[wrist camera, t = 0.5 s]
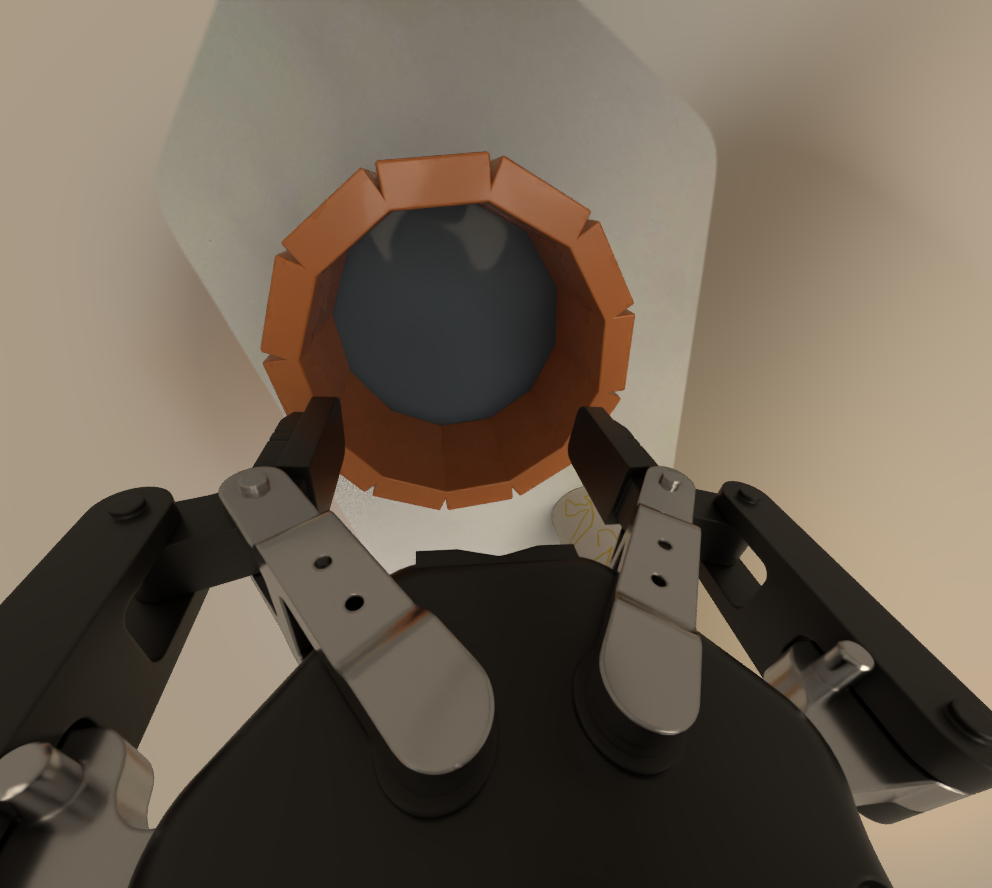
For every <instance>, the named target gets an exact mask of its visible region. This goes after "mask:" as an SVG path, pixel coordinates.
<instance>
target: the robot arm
mask: <svg viewBox="0 0 992 888" xmlns="http://www.w3.org/2000/svg"><path fill="white" fill-rule="evenodd" d="M344 456H345V435H344V427H343V419H342V411H341V403H340V399H339V398H338V397H318V396H313V397H311V399H310V401H309V403H308V405H307V407H306V409H305V411H304V412H292V413H291V414H289V415H288V416H286V417H285V418H283V419H282V420H281V421H280V422H279V424H278V426H277V427H276V429H275V433H273V434H272V436H271V437H270V441H268V442H267V444H266V446H265V447H264V449H263V451H262V453H261V454H260V456H259V457H258V459H257V461H256V462H255V464H254V466H253V467H252V468H250V469H246V470H243V471H240V472H238V473H236V474H234V475H232V476H231V477H229V478H228V479H226V480H225V481H224V482H223V483H222V485H221V486H220V488H219V491H218V493H216V494H212V495H208V496H203V497H198V498H193V499H188V500H183V501H178V502H175V501H174V498H173V496H172V495H171V493H170V492H169V491H167V490H166V489H163V488H159V487H140V488H134V489H129V490H125V491H122V492H119V493H116V494H114V495H111V496H109V497H107V498H105V499H103V500H101V501H100V502H98V503H97V504H95V505H94V506H92V507H91V508H90V509H89V510H88V511H87V512H86V513H85V514H84V515H83V516H82V517H81V518H80V519H79V520H78V521H77V523H76V524H75V525H74V526H73V527H72V528H71V529H70V530H69V531H68V532H67V533H66V535H65V536H64V537H63V538H62V539H61V540H60V541H59V542H58V543H57V544H56V545H55V546H54V547H53V548H52V550H51V551H50V552H49V553H48V554H47V555H46V556H45V557H44V558H43V560H41V562H40V563H39V564H38V565H37V566H36V567H35V568H34V569H33V570H32V571H31V572H30V573H29V574H28V576H27V577H26V578H25V579H24V580H23V581H22V582H21V583H20V584H19V585H18V586H17V587H16V588H15V590H14V591H13V592H12V593H11V594H10V595H9V596H8V597H7V598H6V599H5V600H4V601H3V603H2V604H1V605H0V888H893V886H892V884H891V882H890V881H889V879H888V877H887V875H886V873H885V871H884V869H883V867H882V865H881V863H880V861H879V859H878V857H877V855H876V853H875V851H874V849H873V846H872V844H871V842H870V840H869V838H868V835H867V833H866V831H865V828H864V826H863V823H862V821H861V818H860V816H859V813H860V814H862V815H864V816H865V817H867V818H869V819H871V820H873V821H875V822H878V823H881V824H892V823H895V822H898V821H901V820H904V819H906V818H909V817H912V816H915V815H918V814H920V813H923V812H925V811H929V810H932V809H934V808H937V807H940V806H943V805H946V804H948V803H951V802H954V801H957V800H960V799H962V798H965V797H968V796H971V795H974V794H976V793H979V792H982V791H985V790H988V789H990V788H992V711H991V710H990V709H989V708H988V707H987V706H986V705H985V704H984V703H983V702H982V701H981V700H980V699H979V698H978V697H976V695H975V694H973V693H972V692H971V691H970V690H969V689H968V688H967V687H966V686H965V685H964V684H963V683H962V682H961V681H960V680H959V679H958V678H957V677H956V676H955V675H954V674H953V673H952V672H951V671H950V670H948V669H947V668H946V667H945V666H944V665H943V664H942V663H941V662H940V661H939V660H938V659H937V658H936V657H935V656H934V655H933V654H932V653H931V652H929V650H928V649H927V648H926V647H924V645H922V644H921V643H920V642H919V641H918V640H917V639H916V638H915V637H914V636H913V635H912V634H911V633H910V632H909V631H908V630H907V629H906V628H905V627H904V626H903V625H901V623H900V622H898V621H897V620H896V619H895V618H894V617H893V616H892V615H891V614H890V613H889V612H888V611H887V610H886V609H885V608H884V607H883V606H882V605H881V604H880V603H879V602H878V601H876V599H875V598H874V597H872V596H871V595H870V594H869V593H868V592H867V591H866V590H865V589H864V588H863V587H862V586H861V585H860V584H859V583H858V582H857V581H856V580H855V579H854V578H853V577H852V576H851V575H849V573H847V572H846V571H845V570H844V569H843V568H842V567H841V566H840V565H839V564H838V563H837V562H836V561H835V560H834V559H833V558H832V557H831V556H830V555H829V554H828V553H827V552H826V551H824V550H823V549H822V548H821V547H820V546H819V545H818V544H817V543H816V542H815V541H814V540H813V539H812V538H811V537H810V536H809V535H808V534H807V533H806V532H805V531H804V530H803V529H802V528H801V527H800V526H798V525H797V524H796V523H795V522H794V521H793V520H792V519H791V518H790V517H789V516H788V515H787V514H786V513H785V512H784V511H783V510H782V509H781V508H780V507H779V506H778V505H776V504H775V502H774V501H772V500H771V499H770V498H769V497H768V496H767V495H766V494H765V493H763V492H762V491H760V490H758V489H757V488H755V487H753V486H750V485H748V484H745V483H741V482H736V481H728V482H725V483H724V484H723V485H722V487H721V489H720V490H719V492H718V493H713V492H708V491H703V490H698V489H695V485H694V484H693V482H692V481H691V480H690V479H689V478H688V477H687V476H685V475H684V474H683V473H681V472H679V471H677V470H675V469H672V468H669V467H664V466H658V465H657V463H656V462H655V461H654V460H653V459H652V457H651V456H650V455H649V454H648V453H647V452H646V450H645V449H644V448H643V447H642V446H640V443H639V442H638V441H637V440H636V439H634V436H633V435H632V434H631V433H630V432H629V430H628V429H627V428H625V427H624V426H622V425H621V424H619V423H618V422H616V421H614V420H613V419H612V418H611V417H610V415H609V414H608V413H607V412H606V410H605V409H604V408H603V407H591V406H581V407H580V408H579V409H578V411H577V414H576V418H575V421H574V425H573V428H572V432H571V436H570V439H569V443H568V456H569V459H570V461H571V463H572V465H573V467H574V469H575V471H576V472H577V474H578V476H579V478H580V480H581V482H582V484H583V485H584V487H585V489H586V491H587V493H588V495H589V496H590V498H591V500H592V502H593V504H594V506H595V508H596V509H597V511H598V513H599V515H600V517H601V519H602V520H603V522H604V524H605V525H616V524H620V525H621V527H622V528H621V530H620V532H619V534H618V537H617V540H616V543H615V546H614V549H613V552H612V555H611V558H610V561H609V564H608V566H606V565H604V564H602V563H600V562H597V561H595V560H592V559H588V558H585V557H580V556H578V553H577V551H576V549H575V546H574V544H560V545H540V546H534V547H531V548H527V549H524V550H520V551H517V552H514V553H510V554H507V555H503V556H495V555H489V554H482V553H476V552H470V551H464V550H458V549H456V550H435V551H416V564H415V565H411V566H408V567H405V568H403V569H400V570H398V571H396V572H394V573H392V574H390V575H389V574H388V573H387V572H386V571H385V569H384V568H383V567H382V566H381V565H380V564H379V563H378V562H377V560H376V559H375V558H374V557H373V556H372V555H371V554H370V553H369V551H368V550H367V549H366V548H365V547H364V546H363V545H362V544H361V543H360V541H359V540H358V539H357V538H356V537H355V536H354V535H353V534H352V533H351V531H350V530H349V529H348V528H347V527H346V526H345V525H344V524H343V522H342V521H341V520H340V519H339V518H338V517H337V516H336V515H335V514H334V513H333V512H332V511H330V506H331V503H332V499H333V496H334V492H335V489H336V485H337V482H338V478H339V474H340V471H341V467H342V464H343V460H344ZM748 546H750V548H751V549H752V550H753V551H754V552H755V553H756V555H757V556H758V557H759V558H760V559H761V561H762V562H763V563H764V565H765V567H766V571H767V579H766V581H765V582H764V584H763V585H762V586H761V585H760V584H759V583H758V581H757V580H756V579H755V578H754V576H753V575H752V574H751V573H750V571H749V570H748V569H747V567H746V566H745V565H744V564H743V562H742V561H741V560H740V559H739V558H740V556H741V555H742V554H743V552H744V551H745V550H746V548H747V547H748ZM247 576H250V577H251V579H252V581H253V582H254V584H255V586H256V587H257V589H258V591H259V592H260V594H261V596H262V597H263V599H264V601H265V603H266V604H267V606H268V608H269V610H270V611H271V613H272V615H273V616H274V618H275V620H276V622H277V623H278V625H279V627H280V628H281V631H282V632H283V635H284V637H285V639H286V641H287V643H288V645H289V647H290V649H291V651H292V653H293V655H294V657H295V659H296V661H297V662H298V664H299V666H298V667H297V668H296V669H295V670H294V671H293V672H292V673H291V674H290V676H288V677H287V679H286V680H285V681H284V682H283V683H282V684H281V685H280V686H279V687H278V688H277V689H276V690H275V691H274V693H273V694H272V695H271V696H270V697H269V698H268V699H267V700H266V701H265V702H264V703H263V704H262V705H261V706H260V707H259V708H258V710H257V711H256V712H255V713H254V714H253V715H252V716H251V717H250V718H249V719H248V721H246V722H245V723H244V725H243V726H242V727H241V728H240V729H239V730H238V731H237V732H236V733H235V734H234V735H233V736H232V737H231V739H230V740H229V741H228V742H227V743H226V744H225V745H224V746H223V747H222V748H221V749H220V750H219V752H217V753H216V755H215V756H214V757H213V758H212V759H211V760H210V761H209V762H208V763H207V764H206V765H205V766H204V767H203V769H202V770H201V771H200V772H199V773H198V774H197V775H196V776H195V777H194V778H193V779H192V780H191V781H190V783H189V784H188V785H187V786H186V787H185V788H184V789H183V791H182V792H181V793H180V794H179V796H178V797H177V798H176V799H175V801H174V802H173V803H172V805H171V806H170V808H169V809H168V810H167V812H166V813H165V815H164V816H163V818H162V819H161V821H160V823H159V824H158V826H157V827H156V828H155V829H149V827H148V821H147V813H148V805H149V801H150V797H151V793H152V790H153V785H154V772H153V768H152V766H151V763H150V762H149V761H148V760H147V759H146V758H145V757H144V756H143V755H142V754H141V753H139V752H138V750H137V748H138V746H139V744H140V742H141V740H142V737H143V735H144V733H145V731H146V728H147V726H148V724H149V722H150V720H151V717H152V715H153V713H154V711H155V708H156V706H157V704H158V702H159V699H160V697H161V695H162V693H163V691H164V688H165V686H166V684H167V682H168V679H169V677H170V675H171V673H172V671H173V668H174V666H175V664H176V662H177V659H178V657H179V655H180V653H181V651H182V648H183V646H184V644H185V642H186V639H187V637H188V635H189V633H190V630H191V628H192V626H193V624H194V622H195V619H196V617H197V615H198V613H199V611H200V608H201V606H202V604H203V602H204V599H205V597H206V595H207V593H208V590H209V588H210V587H214V586H217V585H220V584H224V583H227V582H231V581H234V580H237V579H241V578H244V577H247ZM698 579H700V581H701V583H702V584H703V586H704V587H705V589H706V590H707V592H708V594H709V595H710V597H711V598H712V600H713V601H714V603H715V604H716V606H717V608H718V609H719V611H720V612H721V614H722V615H723V617H724V618H725V620H726V622H727V623H728V624H729V626H730V628H731V629H732V631H733V632H734V634H735V635H736V637H737V638H738V640H739V642H740V643H741V645H742V646H743V648H744V649H745V651H746V653H747V654H748V656H749V657H750V659H751V660H752V662H753V664H754V665H755V667H756V668H757V670H758V671H759V673H760V674H761V676H762V678H763V679H764V680H763V679H762V678H761V677H759V676H758V675H757V674H755V673H754V672H753V671H751V670H750V669H749V668H747V667H746V666H744V665H743V664H742V663H740V662H739V661H738V660H736V659H735V658H733V657H732V656H731V655H729V654H728V653H727V652H725V651H724V650H723V649H721V648H720V647H719V646H717V645H716V644H715V643H713V642H712V641H710V640H709V639H708V638H706V637H705V636H704V635H702V634H701V633H700V632H698V631H697V630H696V616H697V615H696V614H697V596H698ZM858 812H859V813H858Z"/></svg>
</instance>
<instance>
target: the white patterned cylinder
mask: <svg viewBox="0 0 992 888" xmlns="http://www.w3.org/2000/svg"><path fill="white" fill-rule="evenodd" d="M552 521H553V524H554V526H555V529H556V531H557V534H558V536H559V539H560V541H561V544H574V546H575V549H576V551H577V553H578V556H580V557H585V558H588V559H592V560H595V561H597V562H600V563H602V564H604V565H606V566H608V564H609V561H610V558H611V555H612V552H613V549H614V546H615V543H616V540H617V537H618V534H619V532H620V530H621V528H622V527H621V525H620V524H616V525H605V524H604V522H603V520H602V519H601V517H600V515H599V513H598V511H597V509H596V508H595V506H594V504H593V502H592V500H591V498H590V496H589V495H588V493H587V491H586V489H585V487H581V488H578V489H575V490H573V491H571V492H569V493H568V494H566V495H565V496H563V497H562V498H561V499H560V500H559V501H558V503H557V504H556V505H555V507H554V509H553V512H552Z"/></svg>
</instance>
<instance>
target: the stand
mask: <svg viewBox="0 0 992 888" xmlns="http://www.w3.org/2000/svg"><path fill="white" fill-rule="evenodd" d="M556 308H557V287H556V285H555V283H554V281H553V279H552V278H551V276H550V274H549V272H548V270H547V268H546V267H545V265H544V263H543V261H542V259H541V257H540V256H539V254H538V252H537V250H536V248H535V246H534V244H533V243H532V241H531V239H530V237H529V235H528V233H527V232H526V231H524V230H522V229H520V228H518V227H517V226H515V225H513V224H511V223H510V222H508V221H506V220H504V219H503V218H501V217H499V216H497V215H495V214H494V213H492V212H490V211H488V210H487V209H485V208H483V207H481V206H479V205H478V204H476V203H475V204H465V205H454V206H444V207H434V208H423V209H413V210H403V211H392V212H391V213H390V214H389V215H388V216H387V217H385V218H384V219H383V220H382V221H381V222H380V223H379V224H378V225H376V226H375V227H374V228H373V229H372V230H371V231H370V232H369V233H367V234H366V235H365V236H364V237H363V238H362V239H361V240H360V241H358V242H357V243H356V244H355V245H354V246H353V247H352V248H351V249H349V250H348V251H347V256H346V260H345V264H344V268H343V272H342V276H341V280H340V285H339V289H338V293H337V297H336V301H335V305H334V310H333V314H332V315H333V318H334V322H335V325H336V328H337V331H338V334H339V337H340V340H341V343H342V346H343V349H344V352H345V355H346V359H347V362H348V365H349V368H350V371H351V373H352V374H353V375H355V376H356V377H357V378H358V379H359V380H360V381H361V382H362V383H363V384H364V385H365V386H366V387H367V388H368V389H369V390H370V391H371V392H372V393H373V394H374V395H376V396H377V397H378V398H379V399H380V400H381V401H382V402H383V403H384V404H385V405H386V406H387V407H388V408H389V409H390V410H392V411H395V412H398V413H401V414H405V415H408V416H411V417H414V418H418V419H421V420H424V421H427V422H431V423H434V424H437V425H441V426H442V425H449V424H455V423H462V422H468V421H475V420H481V419H488V418H491V417H492V416H494V415H495V414H497V413H498V412H500V411H501V410H502V409H504V408H505V407H507V406H508V405H510V404H511V403H513V402H514V401H515V400H517V399H518V398H520V397H521V396H523V395H524V394H526V393H527V392H529V391H530V390H531V389H532V387H533V385H534V383H535V381H536V379H537V378H538V376H539V374H540V372H541V370H542V369H543V367H544V365H545V363H546V361H547V359H548V358H549V356H550V354H551V352H552V350H553V349H554V347H555V345H556Z"/></svg>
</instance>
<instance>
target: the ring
mask: <svg viewBox="0 0 992 888" xmlns="http://www.w3.org/2000/svg"><path fill="white" fill-rule="evenodd" d="M375 166H376V171H377V173H374V172H372V171H369V170H367V169H365V168H362V167H361V168H359V169H358V170H357V171H356V172H355V173H354V174H353V175H352V176H351V177H350V178H349V179H348V180H347V181H346V182H344V183H343V184H342V185H341V186H340V187H339V188H338V189H337V190H336V191H335V192H334V193H333V194H332V195H331V196H330V197H329V198H328V199H326V200H325V201H324V202H323V203H322V204H321V205H320V206H319V207H318V208H317V209H316V210H315V211H314V212H313V213H312V214H311V215H310V216H308V217H307V218H306V219H305V220H304V221H303V222H302V223H301V224H300V225H299V226H298V227H297V228H296V229H295V230H294V231H293V232H292V233H290V234H289V235H288V236H287V237H286V238H285V239H284V240H283V241H282V245H283V246H284V247H285V248H286V249H287V251H285V252H282V253H280V254H278V255H276V256H275V259H274V265H273V272H272V278H271V285H270V291H269V298H268V304H267V311H266V317H265V324H264V330H263V336H262V343H261V351H262V352H264V353H267V354H270V355H269V356H268V358H267V359H266V360H265V361H264V362H263V365H264V368H265V370H266V372H267V374H268V376H269V378H270V380H271V383H272V385H273V387H274V389H275V391H276V393H277V395H278V398H279V400H280V402H281V404H282V406H283V408H284V410H285V413H286V415H287V416H288V415H289V414H291V413H292V412H304V411H305V409H306V407H307V405H308V403H309V401H310V399H311V397H313V396H318V397H338V398H339V399H340V403H341V411H342V419H343V427H344V435H345V456H344V460H343V464H342V467H341V471H340V474H341V475H342V476H344V477H345V478H346V479H348V480H349V481H350V482H352V483H353V484H354V485H356V486H357V487H358V488H360V489H361V490H363V491H364V492H365V491H367V490H368V489H370V488H371V487H372V486H374V490H373V496H377V497H381V498H386V499H390V500H395V501H400V502H404V503H409V504H413V505H418V506H423V507H427V508H432V509H437V510H440V509H441V507H442V505H443V503H444V501H445V499H446V503H447V508H448V510H451V509H457V508H463V507H468V506H474V505H480V504H486V503H491V502H497V501H503V500H508V499H512V497H513V495H512V488H513V489H514V490H515V491H516V492H517V493H518V494H519V495H522V494H524V493H526V492H527V491H529V490H530V489H532V488H534V487H535V486H537V485H538V484H540V483H542V482H543V481H545V480H546V479H548V478H550V477H551V476H553V475H554V474H556V473H558V472H559V471H561V470H562V469H564V468H566V467H567V466H569V465H570V464H572V463H571V461H570V459H569V456H568V443H569V439H570V436H571V432H572V428H573V425H574V421H575V418H576V414H577V411H578V409H579V408H580V407H581V406H591V407H603V408H604V409H605V410H606V412H607V413H608V414H609V415H610V414H611V412H612V411H613V410H614V408H615V407H616V405H617V404H618V402H619V401H620V397H619V396H618V395H617V394H616V393H615V391H621V390H624V389H625V383H626V376H627V369H628V362H629V354H630V347H631V340H632V333H633V326H634V318H635V314H634V313H632V312H630V311H629V310H627V308H628V307H630V306H631V305H633V304H634V302H633V299H632V297H631V295H630V292H629V290H628V288H627V285H626V283H625V281H624V278H623V276H622V273H621V271H620V269H619V266H618V264H617V262H616V259H615V257H614V254H613V252H612V250H611V247H610V245H609V243H608V240H607V238H606V235H605V233H604V231H603V228H602V226H601V224H600V222H599V221H595V220H589V219H588V217H589V215H590V213H591V211H590V210H589V209H587V208H586V207H584V206H583V205H581V204H580V203H578V202H576V201H575V200H573V199H572V198H570V197H569V196H567V195H565V194H564V193H562V192H561V191H559V190H558V189H556V188H554V187H553V186H551V185H550V184H548V183H547V182H545V181H543V180H542V179H540V178H539V177H537V176H536V175H534V174H532V173H531V172H529V171H528V170H526V169H525V168H523V167H521V166H520V165H518V164H517V163H515V162H514V161H512V160H510V159H509V158H507V157H506V156H501V157H499V158H496V159H494V160H492V161H490V155H489V152H487V151H485V152H472V153H460V154H448V155H436V156H424V157H412V158H400V159H388V160H377V161H376V162H375ZM475 203H476V204H478V205H479V206H481V207H483V208H485V209H487V210H488V211H490V212H492V213H494V214H495V215H497V216H499V217H501V218H503V219H504V220H506V221H508V222H510V223H511V224H513V225H515V226H517V227H518V228H520V229H522V230H524V231H526V232H527V233H528V235H529V237H530V239H531V241H532V243H533V244H534V246H535V248H536V250H537V252H538V254H539V256H540V257H541V259H542V261H543V263H544V265H545V267H546V268H547V270H548V272H549V274H550V276H551V278H552V279H553V281H554V283H555V285H556V287H557V308H556V345H555V347H554V349H553V350H552V352H551V354H550V356H549V358H548V359H547V361H546V363H545V365H544V367H543V369H542V370H541V372H540V374H539V376H538V378H537V379H536V381H535V383H534V385H533V387H532V389H531V390H530V391H529V392H527V393H526V394H524V395H523V396H521V397H520V398H518V399H517V400H515V401H514V402H513V403H511V404H510V405H508V406H507V407H505V408H504V409H502V410H501V411H500V412H498V413H497V414H495V415H494V416H492V417H491V418H488V419H481V420H475V421H468V422H462V423H455V424H449V425H442V426H441V425H437V424H434V423H431V422H427V421H424V420H421V419H418V418H414V417H411V416H408V415H405V414H401V413H398V412H395V411H392V410H390V409H389V408H388V407H387V406H386V405H385V404H384V403H383V402H382V401H381V400H380V399H379V398H378V397H377V396H376V395H374V394H373V393H372V392H371V391H370V390H369V389H368V388H367V387H366V386H365V385H364V384H363V383H362V382H361V381H360V380H359V379H358V378H357V377H356V376H355V375H353V374H352V373H351V371H350V368H349V365H348V362H347V359H346V355H345V352H344V349H343V346H342V343H341V340H340V337H339V334H338V331H337V328H336V325H335V322H334V318H333V315H332V314H333V310H334V305H335V301H336V297H337V293H338V289H339V285H340V280H341V276H342V272H343V268H344V264H345V260H346V256H347V251H348V250H349V249H351V248H352V247H353V246H354V245H355V244H356V243H357V242H358V241H360V240H361V239H362V238H363V237H364V236H365V235H366V234H367V233H369V232H370V231H371V230H372V229H373V228H374V227H375V226H376V225H378V224H379V223H380V222H381V221H382V220H383V219H384V218H385V217H387V216H388V215H389V214H390V213H391V212H392V211H403V210H413V209H423V208H434V207H444V206H454V205H465V204H475Z"/></svg>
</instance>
